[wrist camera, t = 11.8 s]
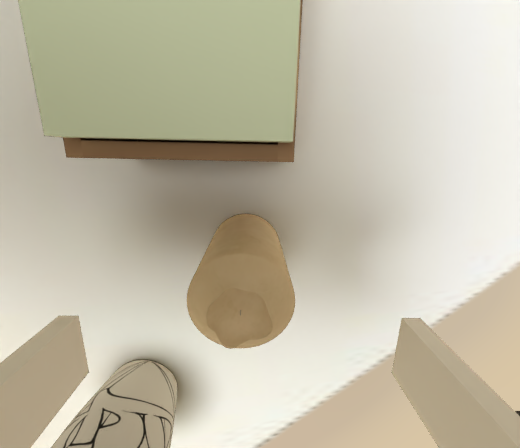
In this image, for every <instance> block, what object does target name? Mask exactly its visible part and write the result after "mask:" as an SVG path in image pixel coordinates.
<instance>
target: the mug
mask: <svg viewBox="0 0 520 448" xmlns="http://www.w3.org/2000/svg"><path fill="white" fill-rule="evenodd" d="M176 401H177V382H176V380H175V377H174V375H173V374H172V373H171V372H170V371H169V370H168V369H167V368H166V367H165V366H163V365H161V364H159V363H157V362H153V361H149V360H137V361H132V362H129V363H127V364H125V365H123V366H122V367H120V368H119V369H118V370H117V371H116V372H115V373H114V374H113V375H112V376H111V377H110V378H109V379H108V380H107V381H106V383H105V384H104V385H103V386H102V387H101V388H100V389H99V390H98V391H97V393H96V394H95V395H94V396H93V397H92V398H91V399H90V400H89V401H88V402H87V404H86V405H85V406H84V407H83V408H82V409H81V410H80V412H79V413H78V414H77V415H76V416H75V418H74V419H73V420H72V421H71V422H70V424H69V425H68V426H67V428H66V429H65V430H64V431H63V433H62V434H61V435H60V437H59V438H58V439H57V440H56V442H55V443H54V444H53V446H52V447H51V448H170V445H171V439H172V432H173V424H174V417H175V409H176Z"/></svg>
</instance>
